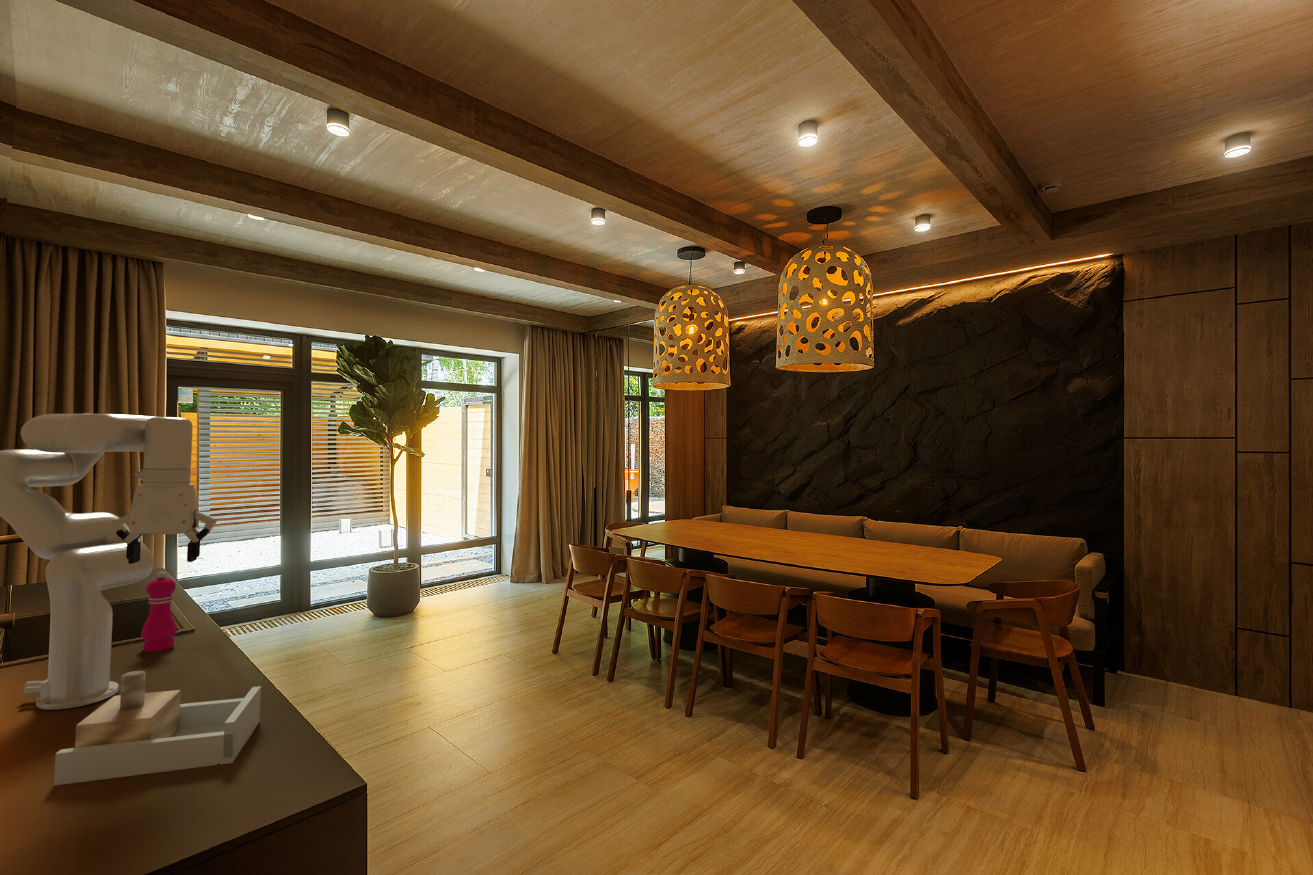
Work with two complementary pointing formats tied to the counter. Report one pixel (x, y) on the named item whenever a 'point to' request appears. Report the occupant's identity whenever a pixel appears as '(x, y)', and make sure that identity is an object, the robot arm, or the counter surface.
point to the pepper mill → (159, 615)
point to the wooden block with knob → (131, 715)
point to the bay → (169, 744)
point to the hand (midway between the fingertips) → (163, 561)
